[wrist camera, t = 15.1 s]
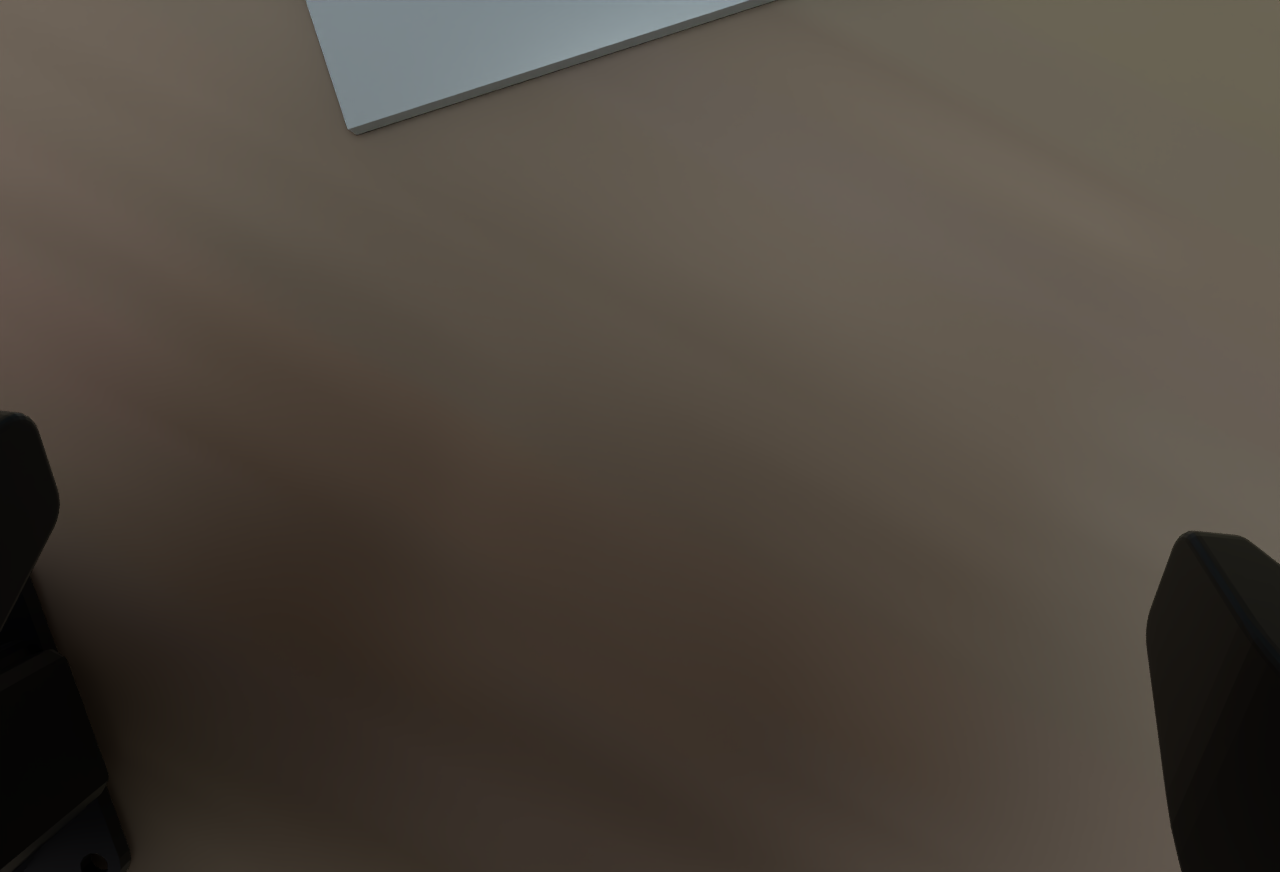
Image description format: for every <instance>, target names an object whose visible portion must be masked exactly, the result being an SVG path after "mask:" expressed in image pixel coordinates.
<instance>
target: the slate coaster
mask: <svg viewBox="0 0 1280 872" xmlns="http://www.w3.org/2000/svg"><path fill="white" fill-rule="evenodd" d="M772 1H775V0H306V3H307V6H308V9H309V12H310V15H311V18H312V21H313V24H314V27H315V30H316V33H317V37H318V40H319V43H320V46H321V49H322V52H323V55H324V58H325V61H326V64H327V67H328V70H329V73H330V76H331V80H332V83H333V86H334V89H335V92H336V95H337V98H338V101H339V104H340V107H341V110H342V113H343V116H344V119H345V122H346V126H347V129H348V130H350V131H351V132H353V133H354V134H356V135H358V134H361V133H365V132H368V131H371V130H374V129H377V128H380V127H383V126H386V125H389V124H393V123H396V122H399V121H402V120H405V119H408V118H411V117H414V116H417V115H421V114H424V113H427V112H430V111H433V110H436V109H439V108H442V107H445V106H449V105H452V104H455V103H458V102H461V101H464V100H467V99H470V98H473V97H477V96H480V95H483V94H486V93H489V92H492V91H495V90H498V89H501V88H505V87H508V86H511V85H514V84H517V83H520V82H523V81H526V80H529V79H533V78H536V77H539V76H542V75H545V74H548V73H551V72H554V71H557V70H561V69H564V68H567V67H570V66H573V65H576V64H579V63H582V62H585V61H589V60H592V59H595V58H598V57H601V56H604V55H607V54H610V53H613V52H617V51H620V50H623V49H626V48H629V47H632V46H635V45H638V44H641V43H645V42H648V41H651V40H654V39H657V38H660V37H663V36H666V35H669V34H673V33H676V32H679V31H682V30H685V29H688V28H691V27H694V26H697V25H701V24H704V23H707V22H710V21H713V20H716V19H719V18H722V17H725V16H729V15H732V14H735V13H738V12H741V11H744V10H747V9H750V8H753V7H757V6H760V5H763V4H766V3H769V2H772Z"/></svg>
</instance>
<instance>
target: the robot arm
mask: <svg viewBox="0 0 1280 872" xmlns="http://www.w3.org/2000/svg"><path fill="white" fill-rule="evenodd" d="M59 506H60V502H59V493H58V489H57V486H56V483H55V480H54V477H53V474H52V471H51V468H50V464H49V461H48V458H47V455H46V452H45V449H44V446H43V443H42V440H41V437H40V434H39V431H38V429H37V426H36V425H35V423H34V422H33V421H32V420H31V419H30V418H29V417H28V416H26V415H24V414H22V413H18V412H9V411H0V872H126V871H127V870H128V868H129V864H130V861H131V857H130V850H129V847H128V844H127V841H126V839H125V836H124V833H123V830H122V828H121V825H120V822H119V819H118V817H117V814H116V811H115V808H114V806H113V803H112V800H111V797H110V795H109V792H108V789H107V786H106V783H107V781H108V779H109V775H108V772H107V769H106V766H105V763H104V761H103V758H102V755H101V752H100V750H99V747H98V744H97V741H96V739H95V736H94V733H93V730H92V728H91V725H90V722H89V719H88V717H87V714H86V711H85V708H84V706H83V703H82V700H81V697H80V695H79V692H78V689H77V686H76V684H75V681H74V678H73V675H72V673H71V670H70V667H69V664H68V662H67V659H66V658H65V657H64V656H62V655H61V654H59V653H58V652H57V649H56V646H55V644H54V641H53V638H52V635H51V633H50V630H49V627H48V624H47V622H46V619H45V616H44V613H43V611H42V608H41V605H40V602H39V600H38V597H37V594H36V591H35V589H34V586H33V583H32V580H31V578H30V573H31V571H32V569H33V567H34V566H35V564H36V562H37V560H38V558H39V556H40V554H41V552H42V550H43V548H44V546H45V544H46V542H47V540H48V538H49V536H50V534H51V532H52V530H53V528H54V526H55V524H56V521H57V518H58V514H59ZM1146 646H1147V654H1148V662H1149V669H1150V677H1151V685H1152V692H1153V700H1154V707H1155V715H1156V723H1157V730H1158V738H1159V746H1160V753H1161V761H1162V769H1163V776H1164V784H1165V792H1166V799H1167V805H1168V812H1169V818H1170V824H1171V829H1172V834H1173V838H1174V843H1175V847H1176V851H1177V856H1178V860H1179V864H1180V868H1181V871H1182V872H1280V564H1279V563H1277V562H1276V561H1275V560H1274V559H1272V558H1271V557H1270V556H1268V555H1267V554H1266V553H1265V552H1263V551H1262V550H1261V549H1259V548H1258V547H1257V546H1256V545H1254V544H1253V543H1252V542H1250V541H1249V540H1247V539H1246V538H1244V537H1241V536H1238V535H1231V534H1221V533H1211V532H1201V531H1188V532H1186V533H1184V534H1182V535H1181V536H1180V537H1179V538H1178V540H1177V541H1176V542H1175V544H1174V546H1173V548H1172V551H1171V554H1170V557H1169V559H1168V562H1167V565H1166V568H1165V570H1164V573H1163V576H1162V579H1161V581H1160V584H1159V587H1158V590H1157V592H1156V595H1155V598H1154V601H1153V603H1152V606H1151V609H1150V612H1149V615H1148V620H1147V628H1146ZM94 853H97V854H99V855H101V856H103V857H104V859H105V860H106V862H107V865H108V869H100V868H98V867H96V866H95V865H94V863H93V862H92V859H91V854H94Z"/></svg>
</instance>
